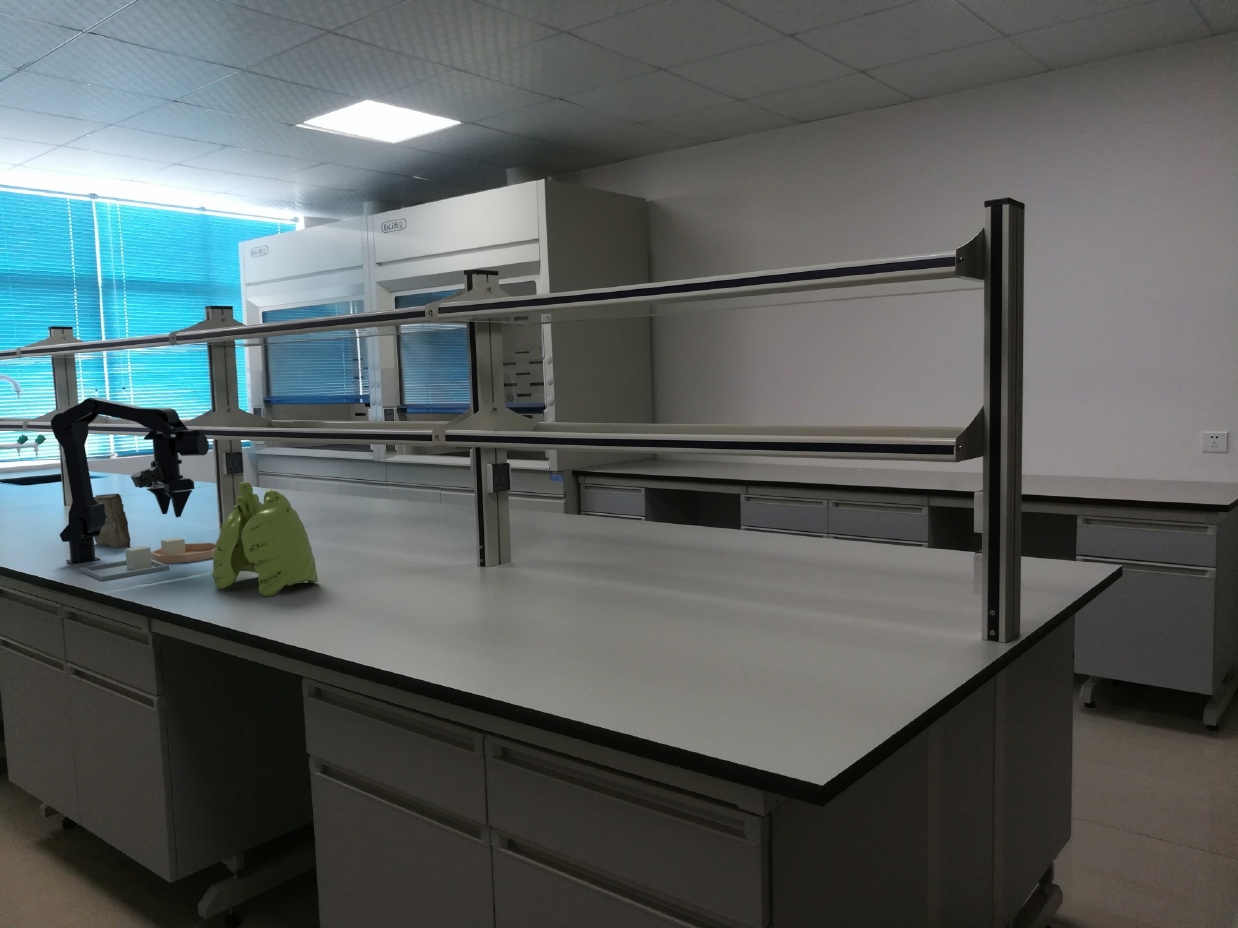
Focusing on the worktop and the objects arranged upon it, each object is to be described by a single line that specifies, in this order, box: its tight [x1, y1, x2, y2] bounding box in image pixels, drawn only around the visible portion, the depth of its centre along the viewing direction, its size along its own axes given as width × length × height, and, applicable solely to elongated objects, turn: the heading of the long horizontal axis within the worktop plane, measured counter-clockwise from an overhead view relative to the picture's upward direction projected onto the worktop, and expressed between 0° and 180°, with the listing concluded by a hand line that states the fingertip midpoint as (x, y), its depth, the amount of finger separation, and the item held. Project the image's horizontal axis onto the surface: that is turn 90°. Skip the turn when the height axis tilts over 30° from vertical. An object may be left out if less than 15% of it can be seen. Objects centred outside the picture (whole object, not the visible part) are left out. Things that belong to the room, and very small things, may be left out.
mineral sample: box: [93, 493, 131, 549], centre depth 260 cm, size 17×4×15 cm, turn 55°
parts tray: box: [79, 559, 171, 582], centre depth 222 cm, size 17×15×2 cm
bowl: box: [151, 542, 216, 564], centre depth 238 cm, size 16×16×2 cm
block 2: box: [160, 536, 186, 555], centre depth 235 cm, size 4×4×5 cm
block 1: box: [124, 545, 152, 571], centre depth 224 cm, size 4×4×5 cm
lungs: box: [211, 481, 319, 597], centre depth 202 cm, size 25×16×24 cm, turn 60°
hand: (171, 515), depth 234 cm, fingers open, 9 cm apart
